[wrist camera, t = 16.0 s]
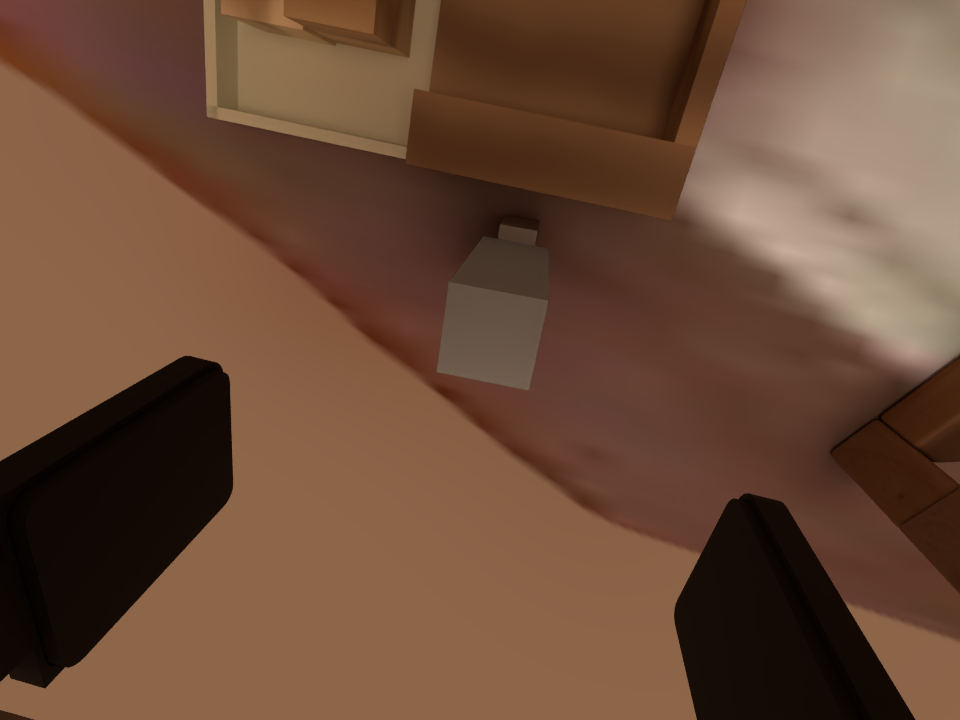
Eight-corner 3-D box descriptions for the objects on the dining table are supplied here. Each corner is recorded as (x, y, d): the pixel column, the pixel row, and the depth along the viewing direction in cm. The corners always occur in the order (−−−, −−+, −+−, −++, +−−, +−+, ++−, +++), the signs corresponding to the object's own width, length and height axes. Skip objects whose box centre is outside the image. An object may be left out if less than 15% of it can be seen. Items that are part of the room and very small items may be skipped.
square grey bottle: (493, 212, 30) (451, 260, 17) (551, 223, 30) (553, 279, 17) (480, 292, 32) (434, 389, 19) (534, 303, 32) (525, 407, 19)
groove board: (469, -126, 24) (448, -200, 19) (740, -75, 23) (793, -137, 18) (429, 161, 29) (404, 163, 24) (650, 208, 29) (671, 220, 24)
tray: (230, -172, 24) (197, -205, 22) (465, -128, 24) (457, -157, 22) (233, 119, 30) (207, 116, 27) (426, 160, 29) (416, 161, 27)
